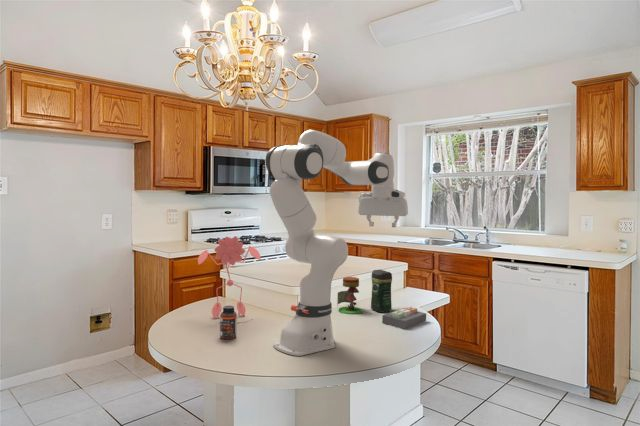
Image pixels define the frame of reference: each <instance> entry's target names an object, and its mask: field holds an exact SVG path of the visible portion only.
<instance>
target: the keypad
mask: <svg viewBox="0 0 640 426" xmlns="http://www.w3.org/2000/svg"><path fill="white" fill-rule="evenodd" d="M402 309H406V307H405V308H404V307H403V308H401V309H397V310H395V311H390V312H387V313H385V314H382V318H381V319H382V321H381V323H382V324H384V325H387V326H391V327H395V328H398V329H402V330H408V329H410V328H412V327H415V326H417V325H420V323H421V324H423V323H426V322H427V313H425V312H422V311H418V310H417V313H416V314H411V315H410V316H404V318H401V319H398V318H394V317H392V312H396V311H398V312H399V310H402ZM425 321H426V322H425Z"/></svg>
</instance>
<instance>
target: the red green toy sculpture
mask: <svg viewBox="0 0 640 426" xmlns="http://www.w3.org/2000/svg"><path fill="white" fill-rule="evenodd" d="M359 286H360V278H359V277H355V276H346V277H345V276H344V277H343V278H342V287H344V288H348V289H347V290H343V291H338V292H337V299H336V301H337V303H336V304H337V307H339V305H340V304H341V303H348V304H347V306H342V307H339V308H338V312H339V313H342V314H347V315H355V314H356V315H357V314H361V313H363V309H362V308H360V307H358V306H357V305H358V304H357V302H356V301H357V297H356V296H355V295H354V294H355V293H356V294H359V293H360V291H359V289H358V287H359Z"/></svg>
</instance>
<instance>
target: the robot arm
mask: <svg viewBox="0 0 640 426" xmlns="http://www.w3.org/2000/svg"><path fill="white" fill-rule="evenodd" d="M297 141H298V142H297V144H287V145H281V144H280V145H276V146H274V147H272V148H270V149H269V150H268V152H267V153H266V155H265V168H266V170H267V172H268V176H269V178H270V179H271V181H273V182H272V183H271V184H270V186H269V195H270V198H271V201H272V204H273V207H274V208H275V210H276V212H277V214H278V216H279V217H280V220H281V221H282V223H283V225H284V227H285V229H286V231H287V235H288V238H287V239H286V242H285V245H284V248H285V249H284V250H285V253H286V255H287V257H289V258H290V259H292V260H294V261H296V262H300V263H302V264H303V263H305V264H311V265H310V271H309V272H308V274H307V275H305V276H304V277H302V278H301V280H300V283H299V302H298V304H297V305H296V304H295V305H294V304H291V306H290V310H291V311H293V312H295V314H294V315H293V316H292V317H291V318H290V320H289V321H287V323H285V325H284V326H283V327H282V329H281V332H280V339H279V340H276V341H275V342H273V345H272V346H273V347H274V348H275V350H277V351H280V352H282V353H285V354H287V355H291V356H296V357H297V356H298V357H299V356H305V355H310V354H313V353H318V352H323V351H327V350H330V349H335V347H336V346H335V338H334V334H333V325H332V324H333V323H332V318H331V314H332V309H333V307H332V305H333V304H332V301H331V297H332V296H331V294H332V293H331V292H332V282H333V278H334V275H335V273H336V272H337V269H339V267H340V266H342V265H344V263H345V262H346V261H347V259H348V255H349V248H348V243H347V242H346V240H345V239H343V238H341V237H339V236H336V235H332V234H322V233H317V232H316V231H315V230H314V227H315V225H316V224H317V220H318V219H317V214H316V212H315V210H314V208H313V207H312V204H311V203H310V201H309V199H308V196H307V195H306V193H305V192H304V190H303V187H302V180H312V179H315V178H317V177H318V176H319V175H320V174H321V172H322V171H323V168H324V169H326V170H327V171H329V172H331V173H332V174H334V175H336V176H337V177H338V178H339V179H341V181H342V182H343V183H344V184H345V185H346V186H371V191H372V192H362V193H361V194H359V195H358V208H357V209H358V210H357V213H358V214H359V215H360V216H366V219H367V221H368V225H369V227H374V224H375V222H374V221H372V220H371V218H372V216H375V217H376V216H380V217H382V216H383V217H384V216H385V217H394V221H393V222H391V228H397V222H398V221H399V219H400V217H407V216H408V215H409V208H408V205H409V204H408V201H407V199H406V198H405V197H406V193H405V192H404V191H402V190H398V189H395V184H394V177H395V164H394V158H393V155H392V154H390V153H388V152H375V153H374V155H373V157H372V158H371V157H370V159H368V160H356V161H354V160H348V161H345V160H346V157H347V148H346V145H344V143H342V141H340V140H339V139H337V138H336V137H334V136H332V135H329V134H327V133H325V132H322V131H319V130H314V129H307V130H306V131H304V132H303V133H302V134H301V135H300V136H299V138H298V140H297Z"/></svg>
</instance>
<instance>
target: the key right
mask: <svg viewBox="0 0 640 426" xmlns="http://www.w3.org/2000/svg"><path fill="white" fill-rule="evenodd" d="M405 309H406V310H410V311H411V314H416V313H417V311H418V308H417V307H413V306H409V307H405Z"/></svg>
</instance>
